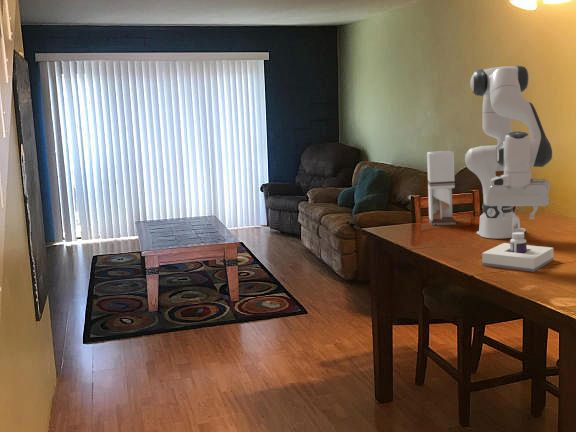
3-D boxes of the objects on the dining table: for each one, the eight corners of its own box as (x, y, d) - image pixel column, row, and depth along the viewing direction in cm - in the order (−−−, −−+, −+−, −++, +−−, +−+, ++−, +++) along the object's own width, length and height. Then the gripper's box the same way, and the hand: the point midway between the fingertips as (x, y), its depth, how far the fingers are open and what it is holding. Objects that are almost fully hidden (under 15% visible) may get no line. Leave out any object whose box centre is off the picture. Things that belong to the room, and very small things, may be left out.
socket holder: (503, 254, 219) (503, 242, 218) (553, 260, 206) (553, 247, 206) (482, 265, 206) (482, 253, 205) (533, 271, 194) (533, 258, 193)
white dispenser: (431, 225, 283) (429, 153, 278) (429, 221, 294) (426, 152, 288) (455, 224, 282) (453, 152, 276) (452, 220, 292) (450, 150, 287)
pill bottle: (528, 259, 206) (528, 232, 205) (523, 262, 202) (523, 235, 201) (513, 257, 210) (513, 231, 208) (507, 260, 206) (507, 233, 204)
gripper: (550, 177, 200) (549, 216, 203) (487, 178, 208) (488, 216, 211) (550, 180, 194) (549, 220, 197) (486, 181, 203) (486, 219, 205)
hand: (517, 218), depth 204 cm, fingers open, 8 cm apart
